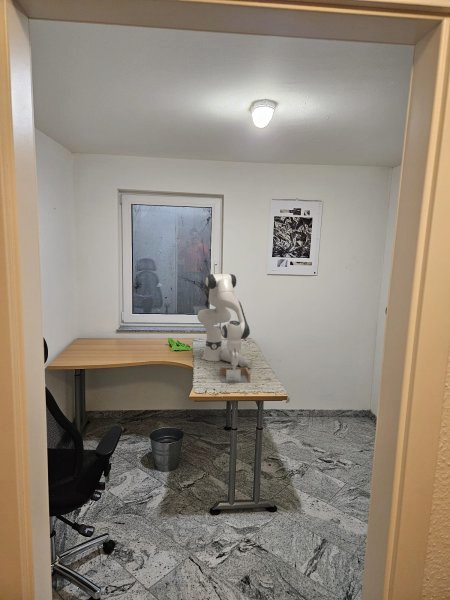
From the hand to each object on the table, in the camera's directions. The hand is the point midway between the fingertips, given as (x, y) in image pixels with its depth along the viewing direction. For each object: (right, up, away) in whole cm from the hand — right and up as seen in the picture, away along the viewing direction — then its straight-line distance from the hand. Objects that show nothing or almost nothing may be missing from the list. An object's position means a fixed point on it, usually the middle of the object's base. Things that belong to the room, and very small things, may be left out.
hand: (233, 368), depth 229 cm
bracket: (0, -7, -1) cm, 7 cm away
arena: (+1, -8, +2) cm, 8 cm away
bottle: (+2, -4, +35) cm, 35 cm away
